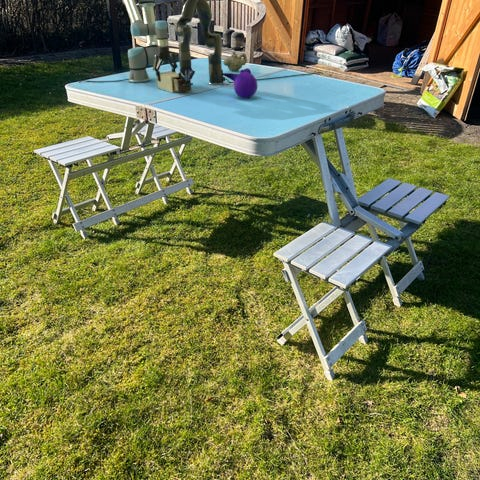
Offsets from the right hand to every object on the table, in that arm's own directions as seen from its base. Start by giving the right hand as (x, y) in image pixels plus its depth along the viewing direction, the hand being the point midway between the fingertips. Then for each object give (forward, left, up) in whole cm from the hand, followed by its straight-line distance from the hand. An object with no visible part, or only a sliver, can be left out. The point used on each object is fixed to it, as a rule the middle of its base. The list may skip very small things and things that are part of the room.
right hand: (187, 86), depth 296 cm
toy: (-28, +24, -5) cm, 37 cm away
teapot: (-64, -58, -5) cm, 86 cm away
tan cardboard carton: (+4, -20, -5) cm, 21 cm away
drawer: (+2, -10, -4) cm, 11 cm away
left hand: (+5, -27, 0) cm, 27 cm away
